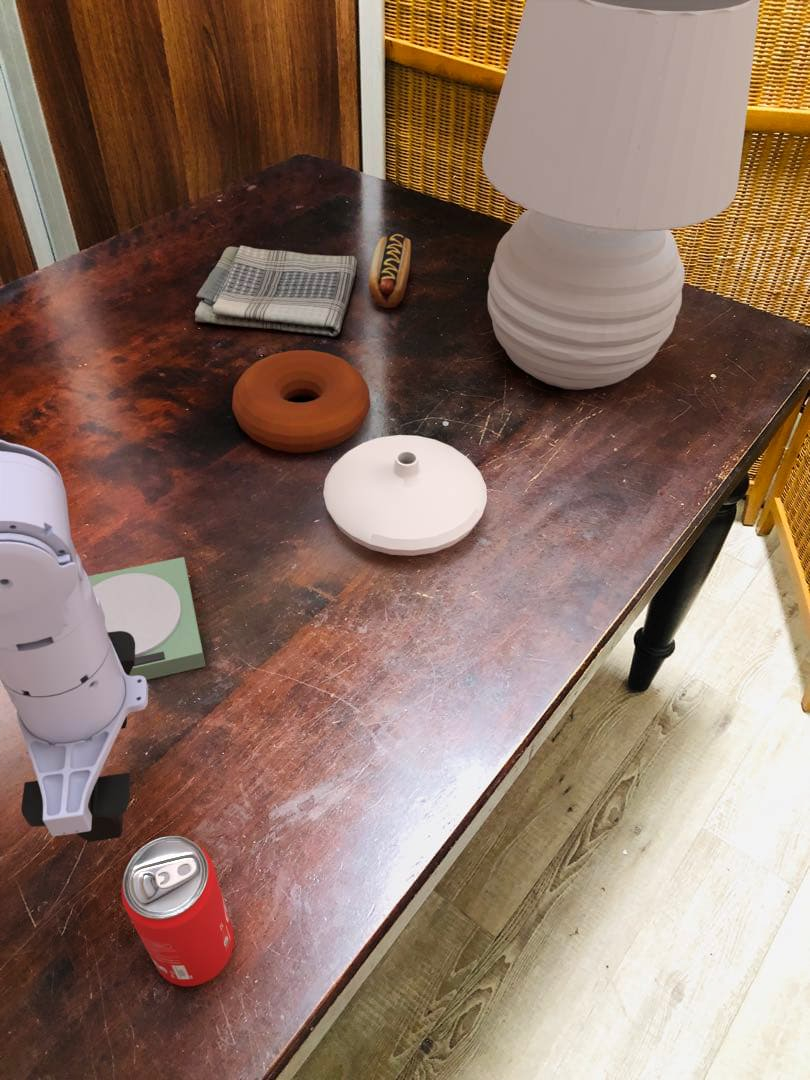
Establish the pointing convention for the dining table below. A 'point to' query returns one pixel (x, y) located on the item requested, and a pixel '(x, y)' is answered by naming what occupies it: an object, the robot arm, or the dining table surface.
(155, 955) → the beverage can
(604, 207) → the table lamp
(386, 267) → the hot dog
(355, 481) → the vase
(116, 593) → the scale
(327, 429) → the donut
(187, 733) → the dining table surface
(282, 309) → the dish towel
